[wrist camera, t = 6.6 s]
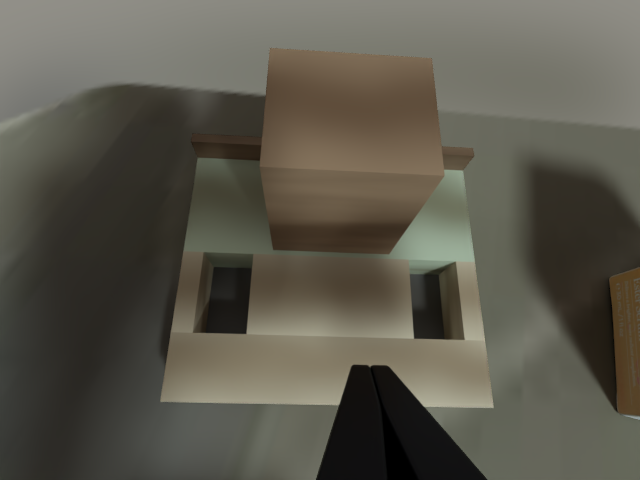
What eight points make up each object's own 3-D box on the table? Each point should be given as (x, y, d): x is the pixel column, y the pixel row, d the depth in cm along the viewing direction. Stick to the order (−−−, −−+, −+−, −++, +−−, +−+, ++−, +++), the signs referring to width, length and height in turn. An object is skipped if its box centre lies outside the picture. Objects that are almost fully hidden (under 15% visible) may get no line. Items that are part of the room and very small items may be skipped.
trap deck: (466, 405, 20) (510, 409, 16) (179, 399, 20) (148, 403, 16) (443, 188, 25) (472, 148, 21) (210, 177, 24) (192, 133, 20)
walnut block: (389, 254, 20) (444, 175, 13) (273, 249, 20) (259, 166, 12) (385, 170, 22) (431, 58, 14) (278, 165, 22) (269, 48, 14)
